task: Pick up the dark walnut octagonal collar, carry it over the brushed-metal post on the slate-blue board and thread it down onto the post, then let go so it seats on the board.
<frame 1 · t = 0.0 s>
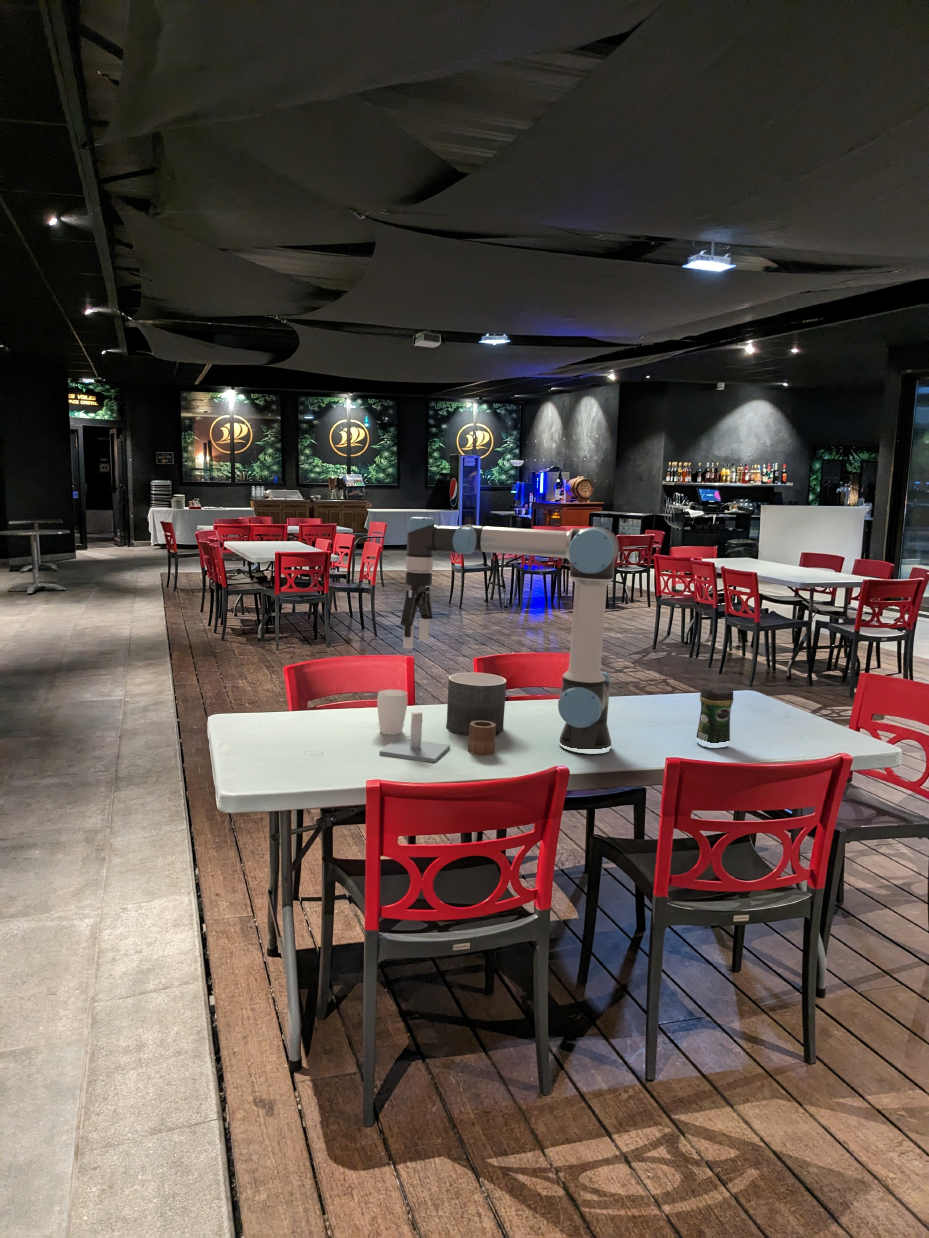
hand: (415, 644, 247), 28 cm above the table, fingers open, 13 cm apart
cup: (391, 732, 256), on the table
coffee jar: (711, 746, 259), on the table
planter: (474, 729, 265), on the table
post block: (415, 751, 239), on the table
collar: (481, 751, 242), on the table
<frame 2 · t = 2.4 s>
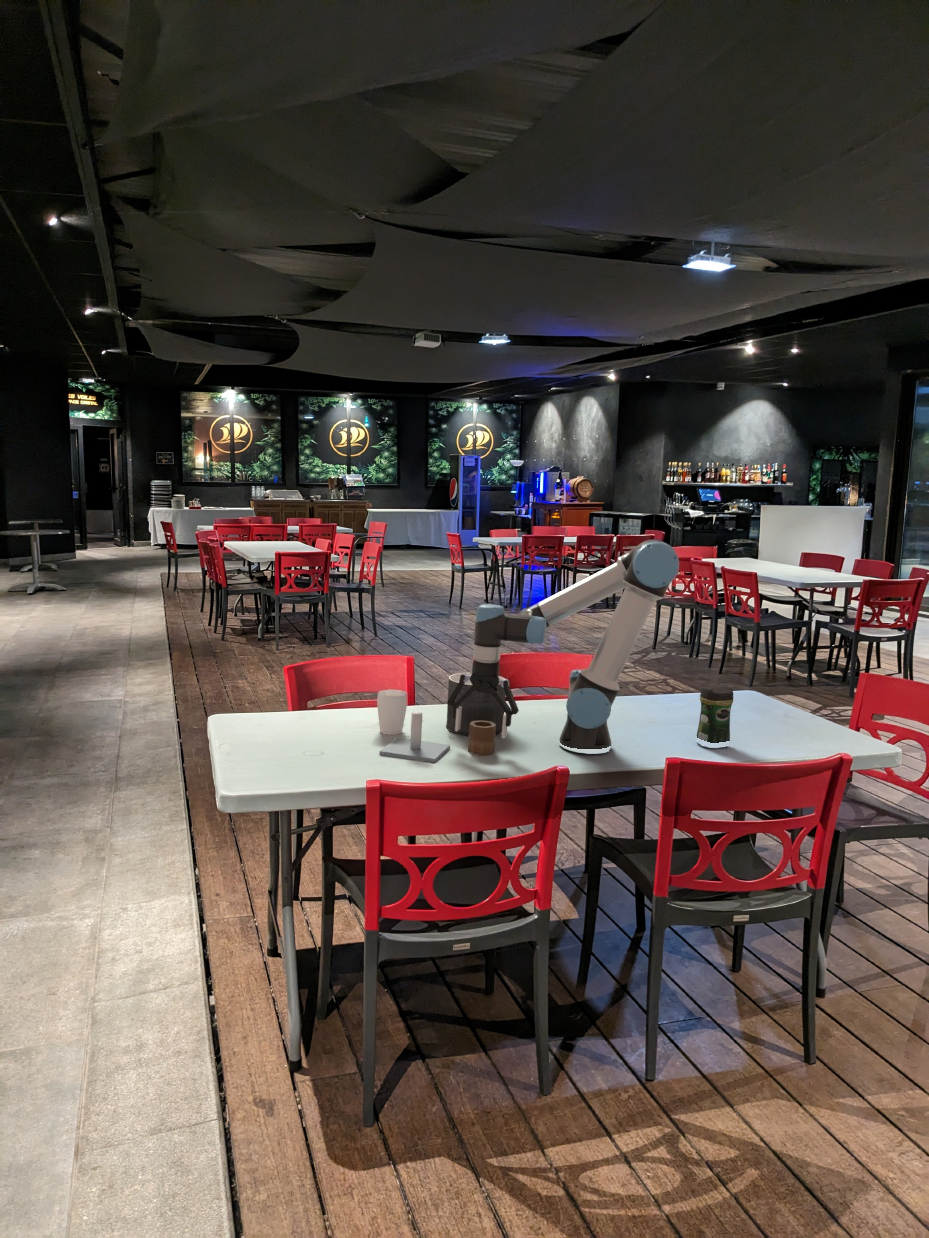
hand: (480, 733, 241), 5 cm above the table, fingers open, 13 cm apart
nothing on the table moved.
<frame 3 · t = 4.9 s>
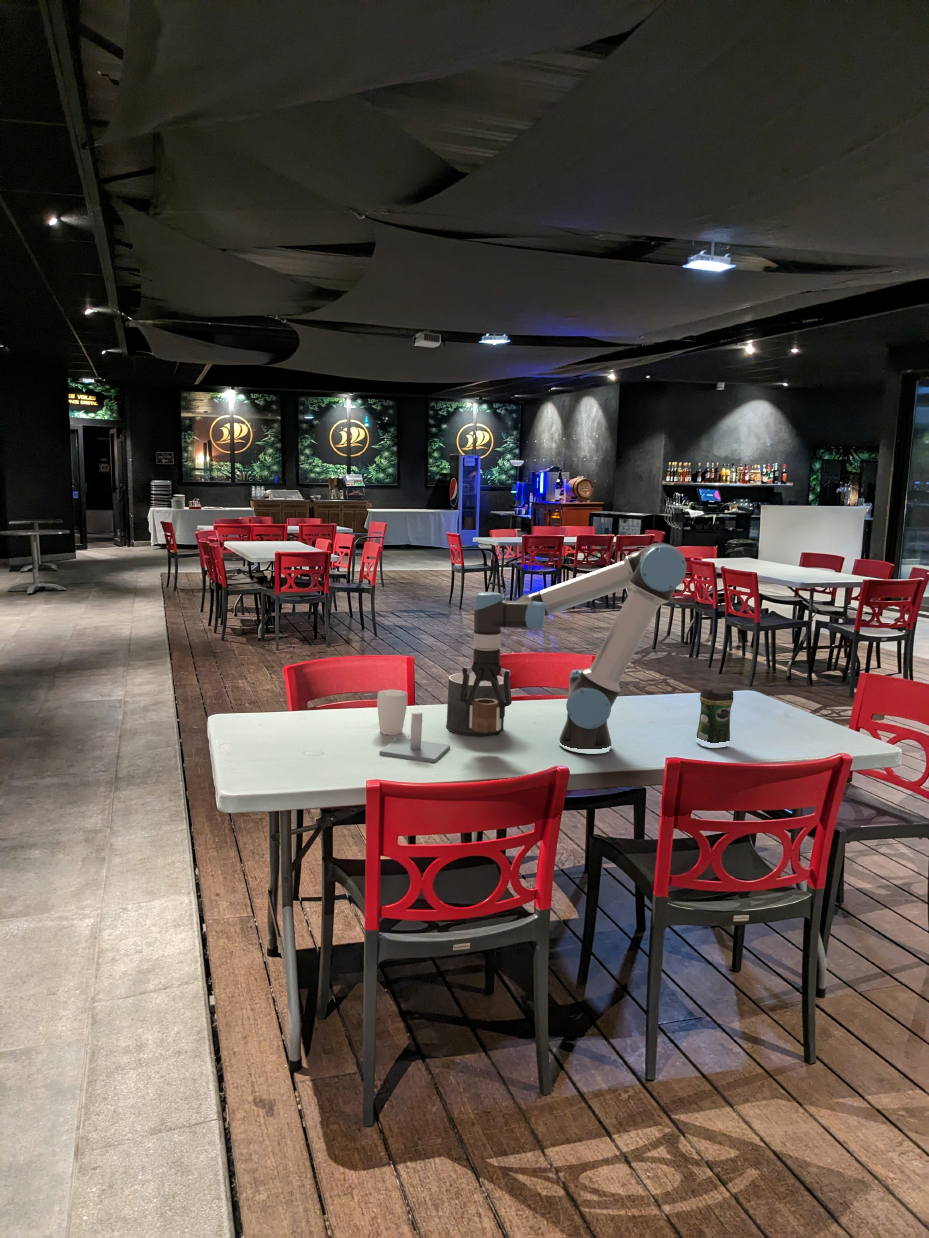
hand: (485, 727, 240), 7 cm above the table, fingers closed on collar, 7 cm apart
collar: (485, 729, 241), point 7 cm above the table, touching gripper
everything else where it was.
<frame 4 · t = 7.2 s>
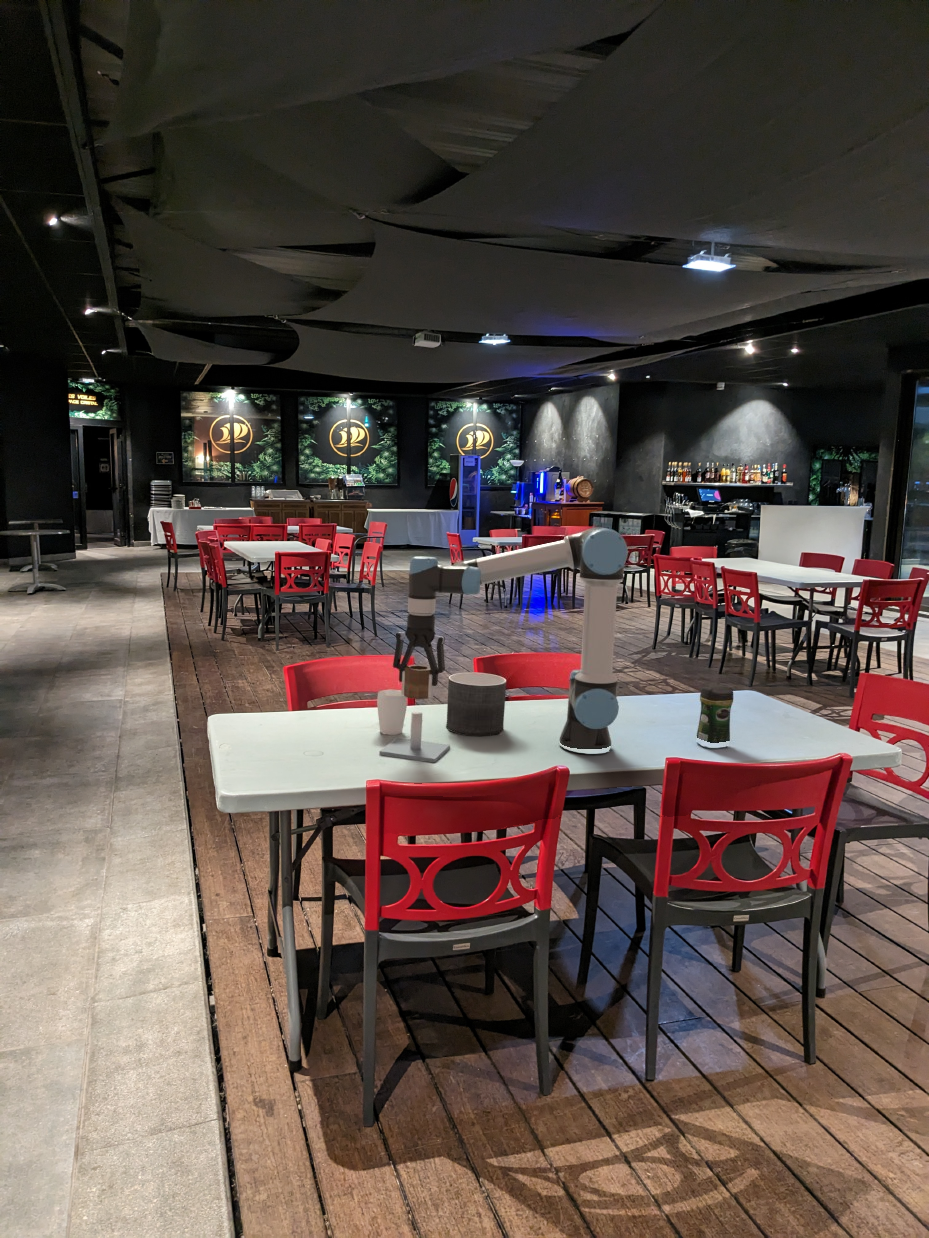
hand: (417, 695, 236), 16 cm above the table, fingers closed on collar, 7 cm apart
collar: (417, 695, 236), point 16 cm above the table, touching gripper
everything else where it was.
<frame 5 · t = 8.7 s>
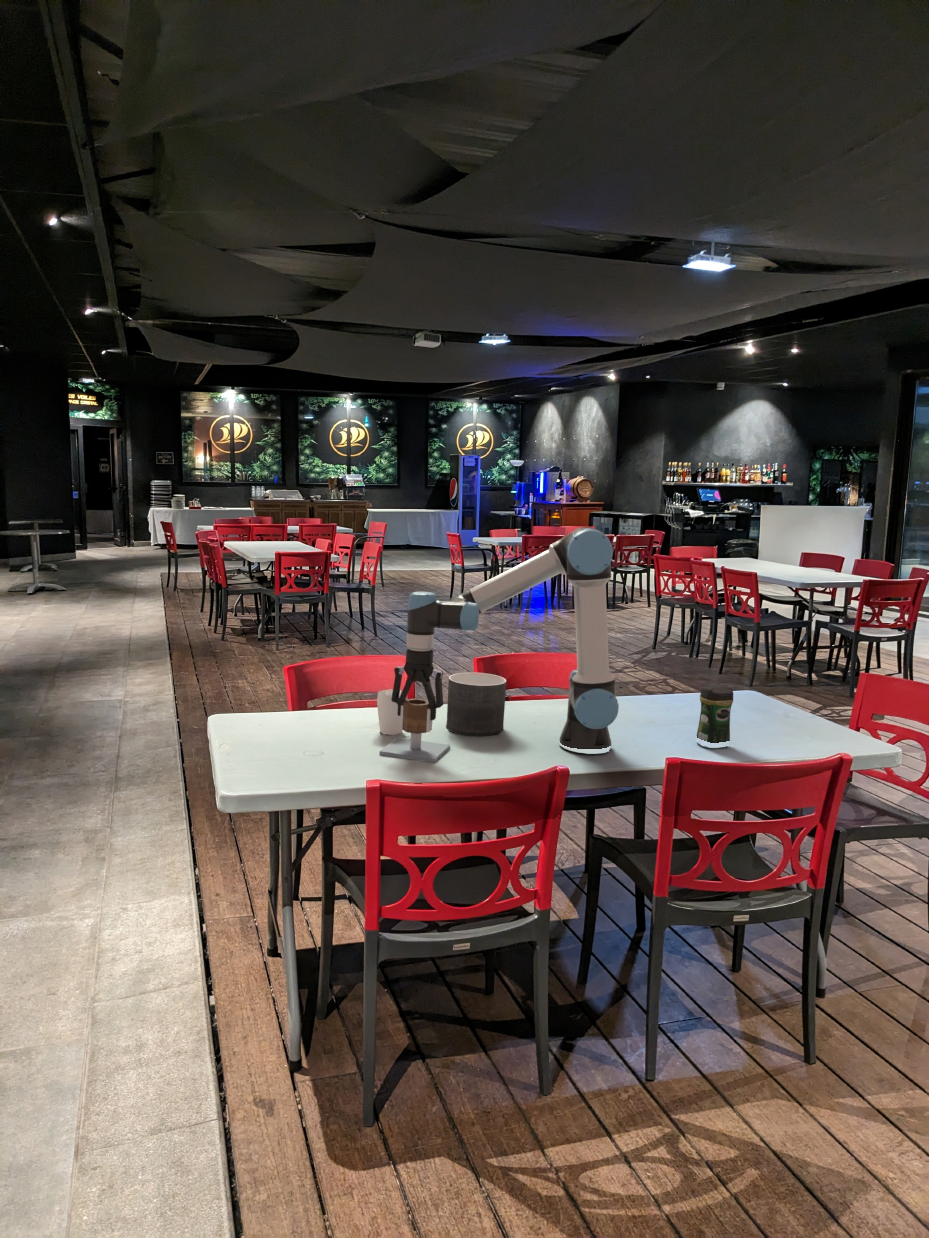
hand: (415, 729, 238), 6 cm above the table, fingers closed on collar, 7 cm apart
collar: (415, 729, 238), point 6 cm above the table, touching gripper
everything else where it was.
when the fingers open (5 cm above the table, at t = 9.9 s): collar drops 3 cm, resting on post block.
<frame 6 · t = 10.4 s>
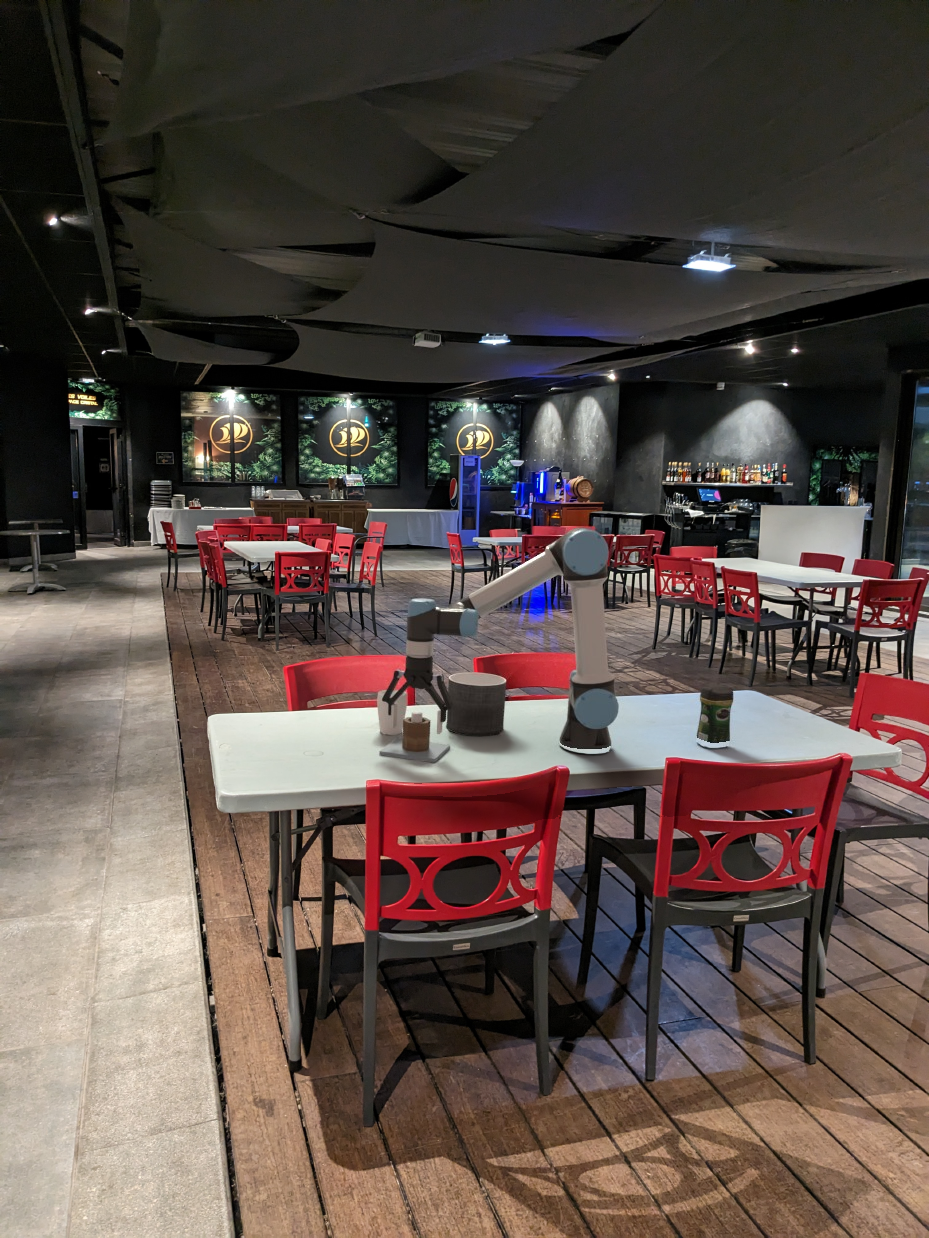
hand: (416, 730, 238), 6 cm above the table, fingers open, 13 cm apart
collar: (415, 747, 238), point 1 cm above the table, touching post block
everything else where it was.
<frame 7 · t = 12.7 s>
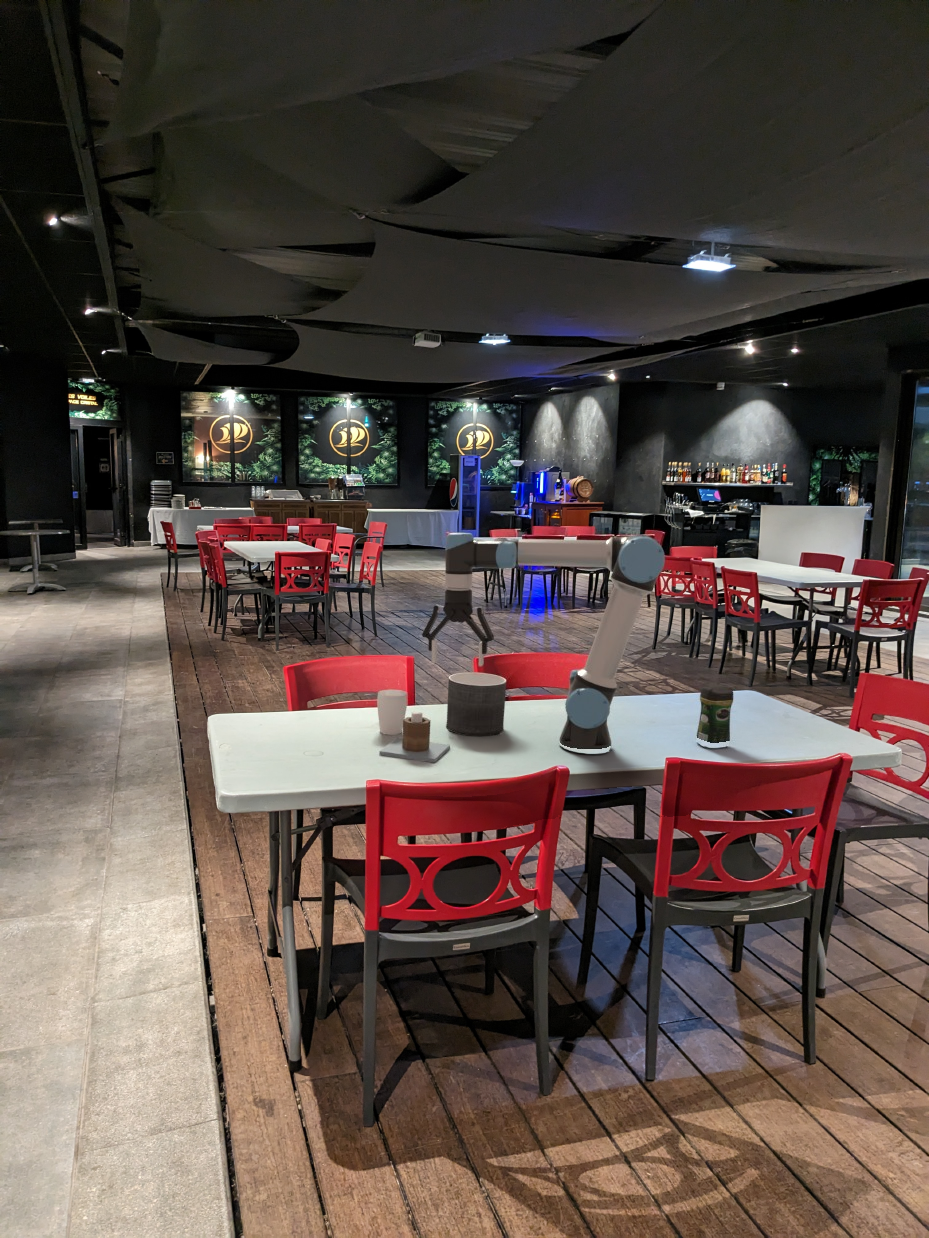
hand: (457, 663, 240), 25 cm above the table, fingers open, 13 cm apart
nothing on the table moved.
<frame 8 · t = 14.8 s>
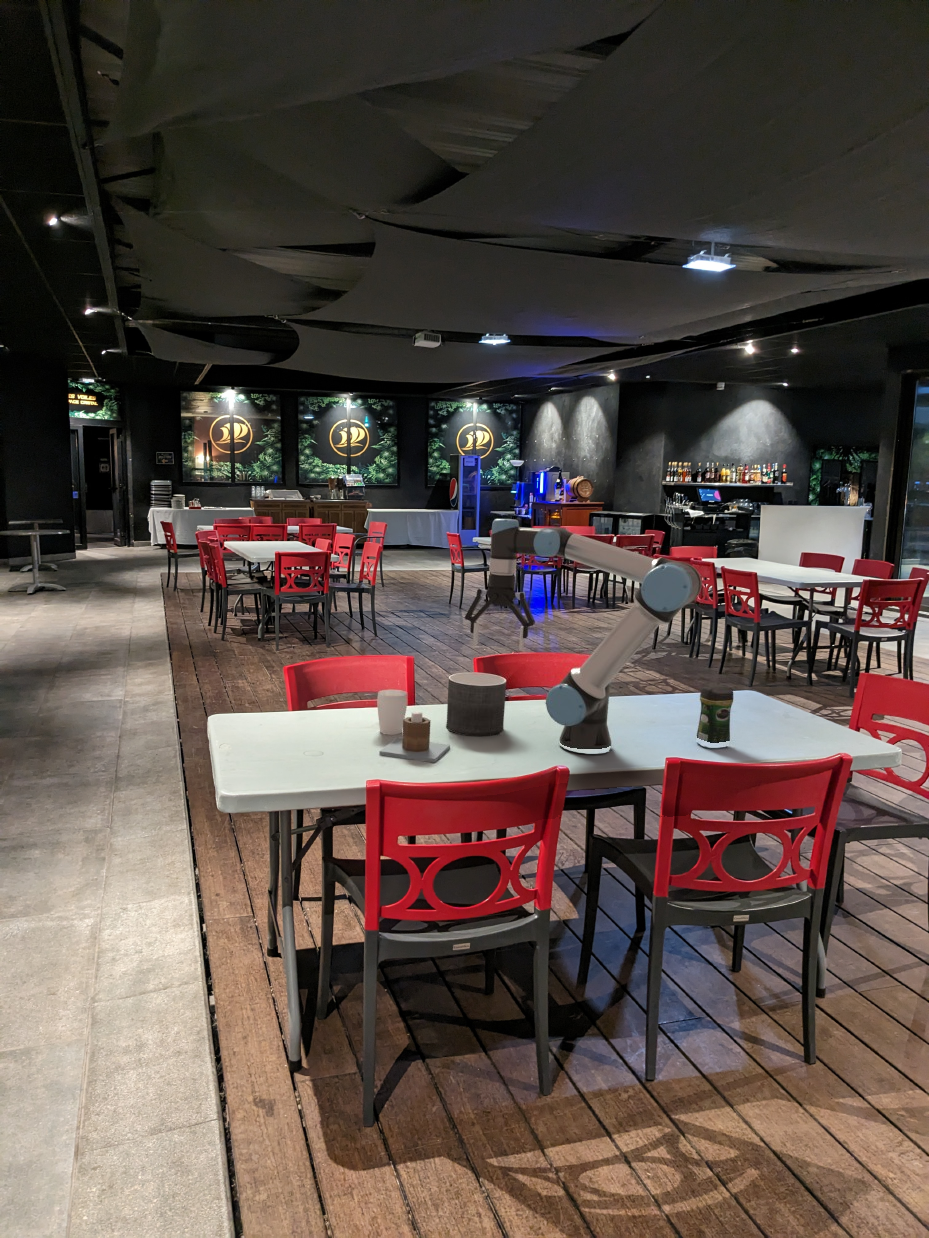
hand: (498, 647, 246), 29 cm above the table, fingers open, 13 cm apart
nothing on the table moved.
at the end: collar 0.1 cm off-centre on the post block, point 1.0 cm above the post block's base; the gripper is holding nothing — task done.
